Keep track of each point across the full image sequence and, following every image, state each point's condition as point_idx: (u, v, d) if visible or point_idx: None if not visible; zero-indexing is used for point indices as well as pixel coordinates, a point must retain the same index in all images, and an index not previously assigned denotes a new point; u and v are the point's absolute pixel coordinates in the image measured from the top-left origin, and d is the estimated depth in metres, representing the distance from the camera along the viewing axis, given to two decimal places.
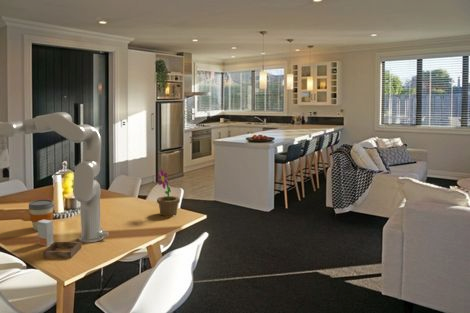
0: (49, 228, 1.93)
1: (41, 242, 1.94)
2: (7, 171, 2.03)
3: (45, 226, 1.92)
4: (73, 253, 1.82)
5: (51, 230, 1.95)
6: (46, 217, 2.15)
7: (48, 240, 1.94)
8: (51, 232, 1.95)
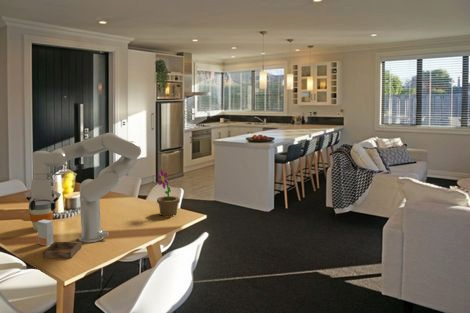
0: (49, 228, 1.93)
1: (41, 242, 1.94)
2: (34, 202, 1.94)
3: (45, 226, 1.92)
4: (73, 253, 1.82)
5: (51, 230, 1.95)
6: (46, 217, 2.15)
7: (48, 240, 1.94)
8: (51, 232, 1.95)
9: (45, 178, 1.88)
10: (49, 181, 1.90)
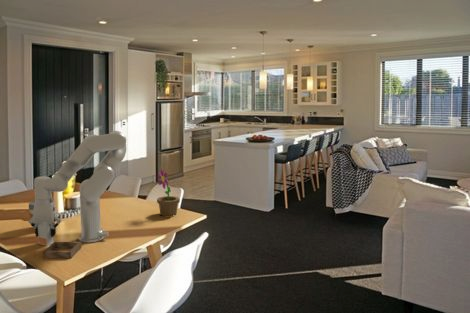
0: (49, 228, 1.93)
1: (41, 242, 1.94)
2: None
3: (45, 226, 1.92)
4: (73, 253, 1.82)
5: None
6: None
7: (48, 240, 1.94)
8: None
9: (47, 204, 1.90)
10: (51, 206, 1.92)
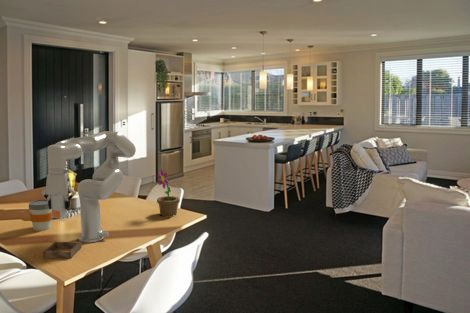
0: (63, 200, 1.81)
1: (54, 215, 1.82)
2: None
3: (59, 197, 1.79)
4: (73, 253, 1.82)
5: None
6: (46, 217, 2.15)
7: (62, 213, 1.81)
8: None
9: (61, 173, 1.78)
10: (65, 176, 1.79)
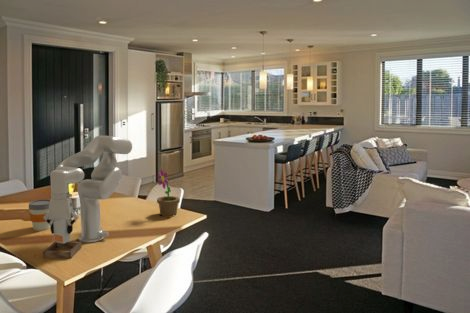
0: (65, 225, 1.82)
1: (57, 240, 1.82)
2: None
3: (61, 222, 1.80)
4: (73, 253, 1.82)
5: (67, 226, 1.83)
6: None
7: (65, 238, 1.82)
8: None
9: (64, 198, 1.79)
10: (68, 201, 1.80)
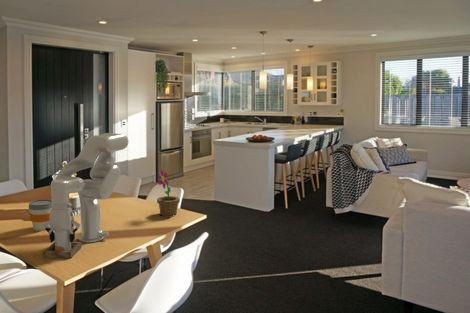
0: (67, 236, 1.83)
1: None
2: (54, 233, 1.85)
3: (63, 234, 1.81)
4: (73, 253, 1.82)
5: (69, 237, 1.84)
6: (46, 217, 2.15)
7: (66, 249, 1.83)
8: (69, 240, 1.84)
9: (64, 208, 1.80)
10: (68, 211, 1.81)
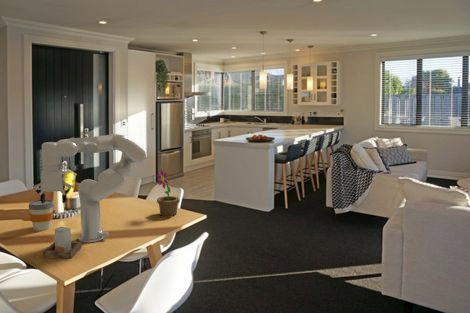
0: (67, 236, 1.83)
1: None
2: (44, 195, 1.89)
3: (63, 234, 1.81)
4: (73, 253, 1.82)
5: (69, 237, 1.84)
6: (46, 217, 2.15)
7: (66, 249, 1.83)
8: (69, 240, 1.84)
9: (56, 170, 1.84)
10: (60, 173, 1.85)
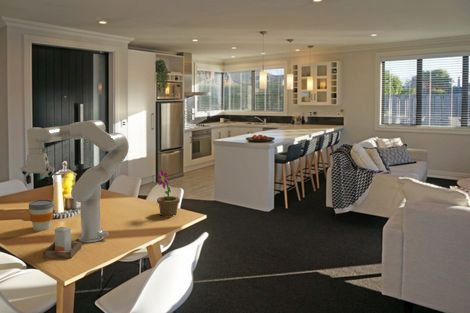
0: (67, 236, 1.83)
1: None
2: (30, 177, 2.04)
3: (63, 234, 1.81)
4: (73, 253, 1.82)
5: (69, 237, 1.84)
6: (46, 217, 2.15)
7: (66, 249, 1.83)
8: (69, 240, 1.84)
9: (39, 153, 1.99)
10: (43, 156, 2.00)
